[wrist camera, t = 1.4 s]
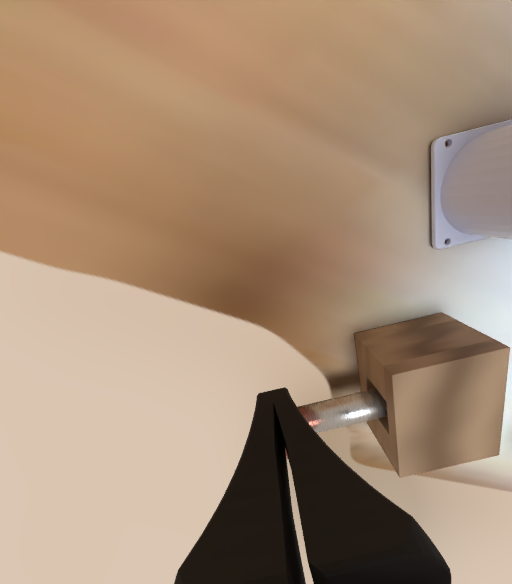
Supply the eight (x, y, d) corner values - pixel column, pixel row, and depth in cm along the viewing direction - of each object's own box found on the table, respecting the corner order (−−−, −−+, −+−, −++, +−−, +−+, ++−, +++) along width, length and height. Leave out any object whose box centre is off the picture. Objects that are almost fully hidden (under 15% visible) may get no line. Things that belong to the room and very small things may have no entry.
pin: (404, 352, 23) (445, 388, 18) (406, 394, 24) (445, 437, 20) (271, 384, 23) (278, 427, 18) (281, 424, 24) (291, 473, 20)
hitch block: (441, 312, 23) (509, 347, 17) (441, 400, 26) (499, 455, 20) (353, 333, 23) (392, 375, 17) (364, 418, 26) (399, 477, 20)
